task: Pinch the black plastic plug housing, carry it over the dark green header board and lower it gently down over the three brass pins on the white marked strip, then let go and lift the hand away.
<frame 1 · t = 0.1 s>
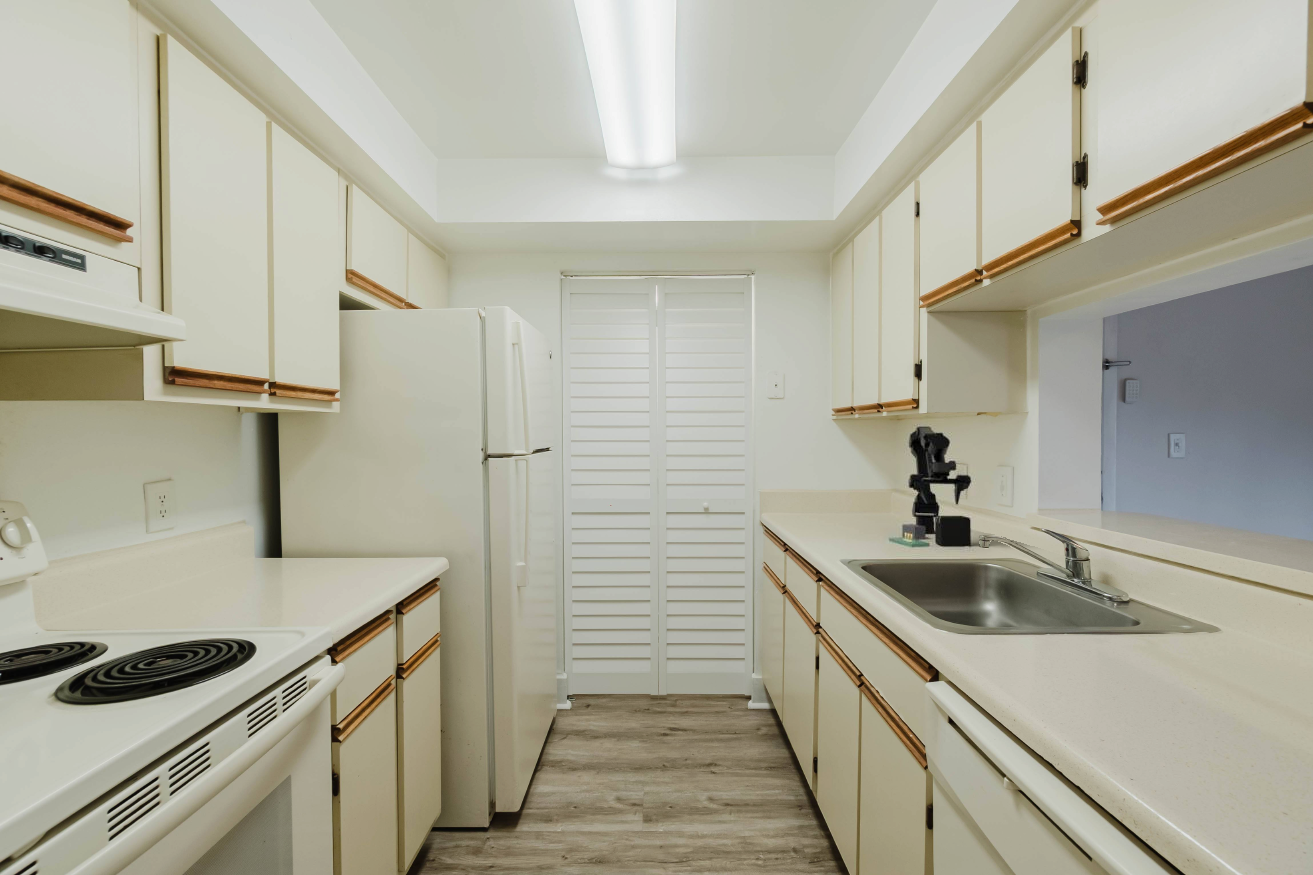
hand: (942, 503, 182), 15 cm above the counter, tool tilted 30°, fingers open, 9 cm apart
electronic device: (952, 546, 185), on the counter
plug housing: (913, 537, 200), on the counter
header board: (908, 543, 190), on the counter
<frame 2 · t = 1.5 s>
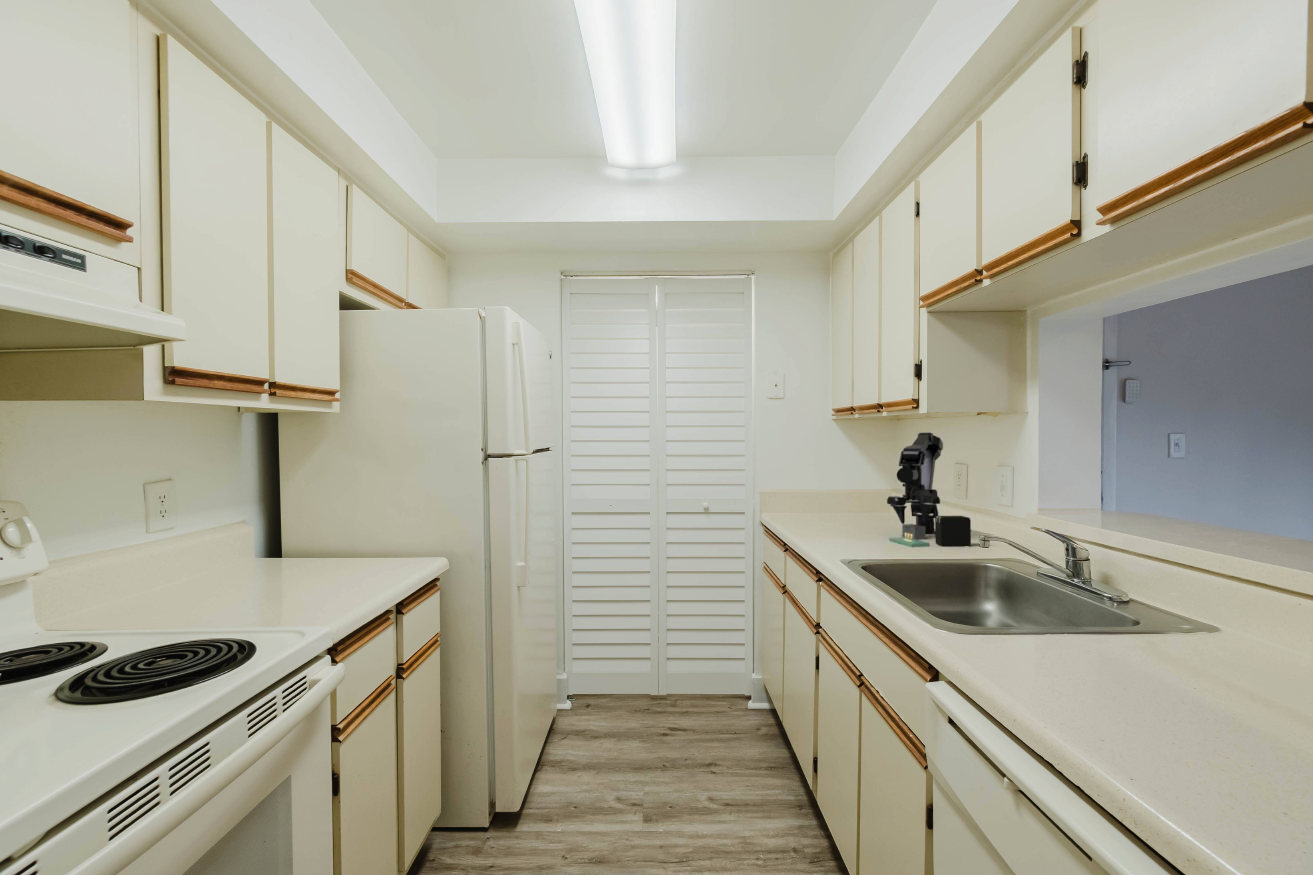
hand: (913, 523, 200), 5 cm above the counter, tool pointing down, fingers open, 9 cm apart
nothing on the counter moved.
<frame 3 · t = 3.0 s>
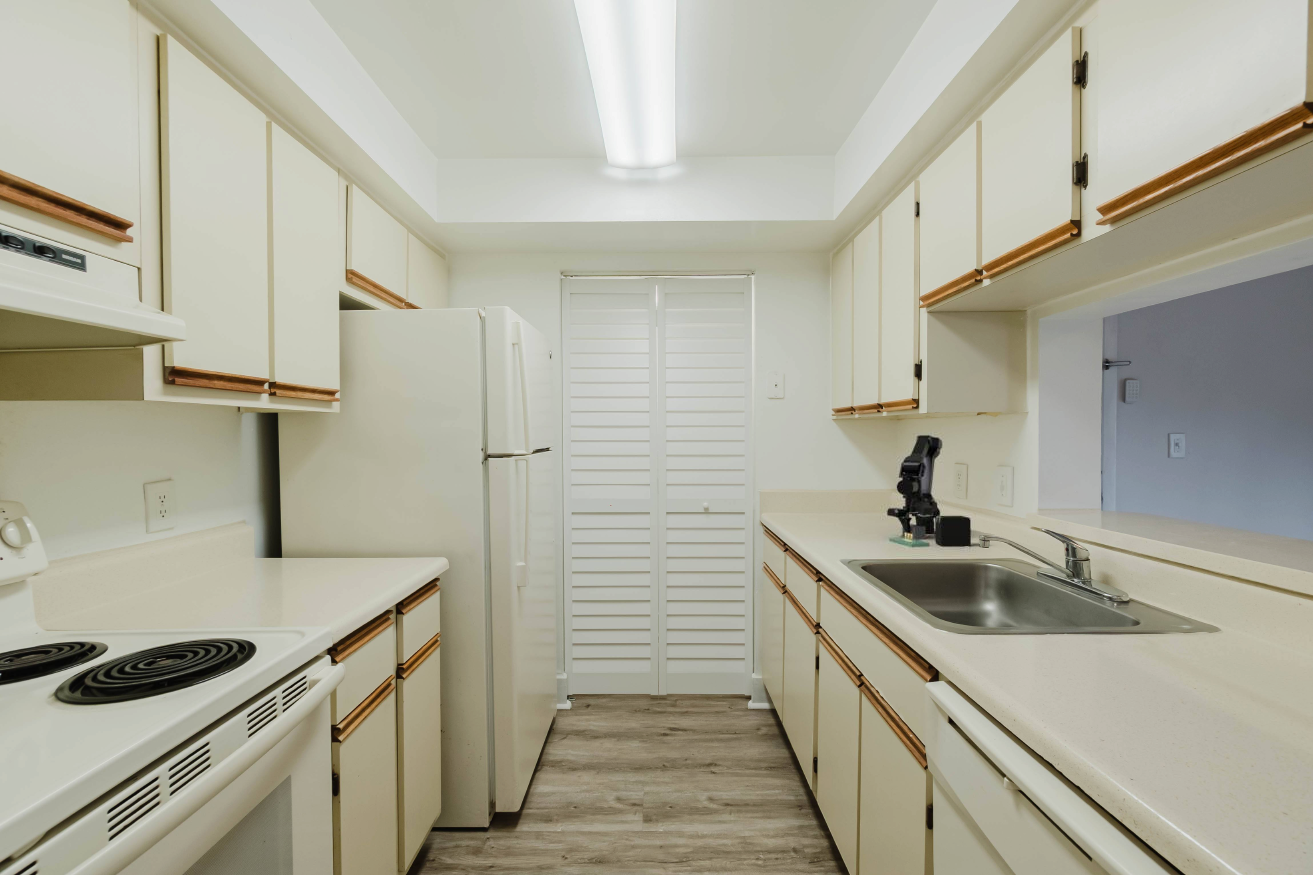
hand: (913, 534, 200), 1 cm above the counter, tool pointing down, fingers closed on plug housing, 4 cm apart
plug housing: (913, 537, 200), on the counter, touching gripper
everything else where it was.
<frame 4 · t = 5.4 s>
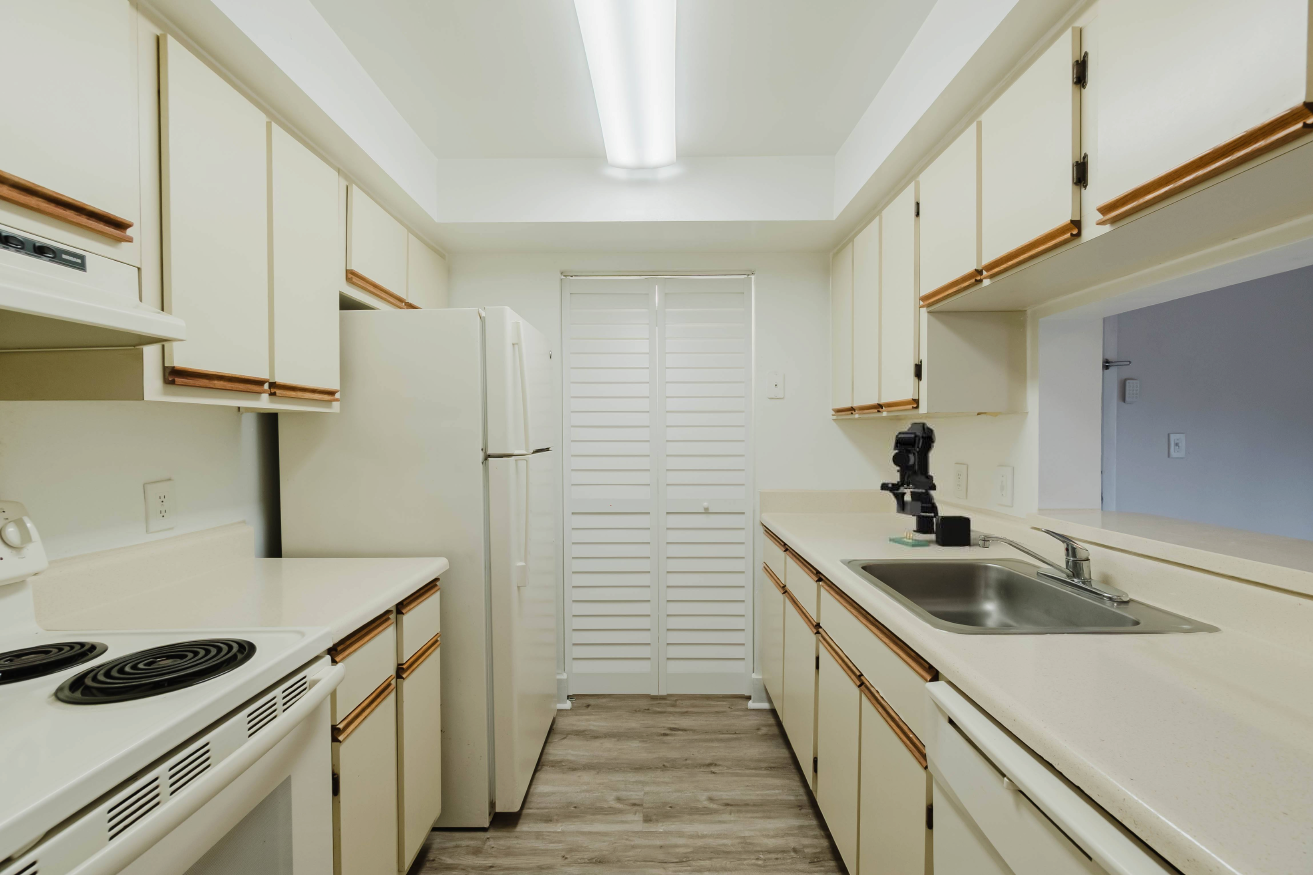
hand: (908, 511, 190), 11 cm above the counter, tool pointing down, fingers closed on plug housing, 4 cm apart
plug housing: (908, 513, 190), point 10 cm above the counter, touching gripper
everything else where it was.
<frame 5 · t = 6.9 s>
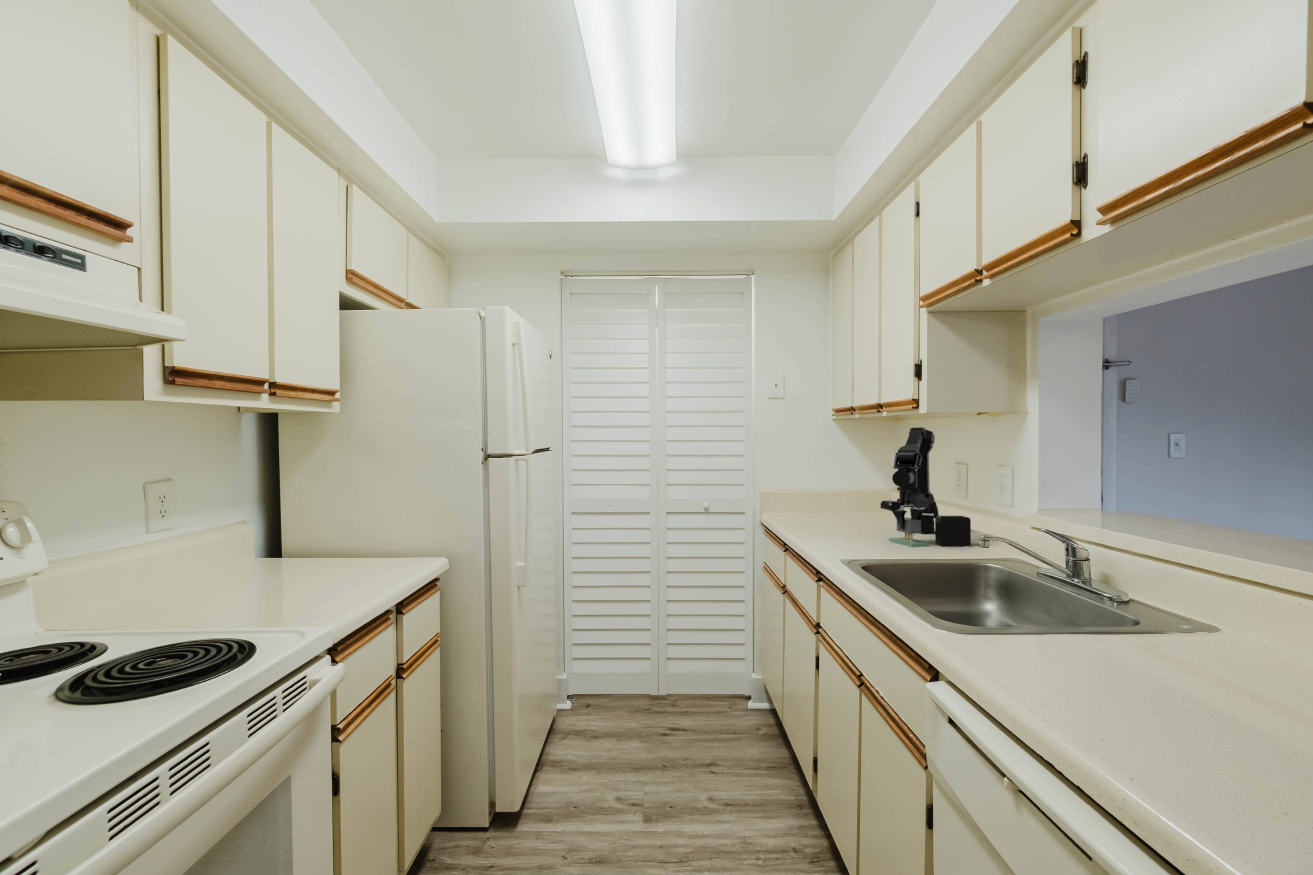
hand: (908, 529, 190), 5 cm above the counter, tool pointing down, fingers closed on plug housing, 4 cm apart
plug housing: (908, 531, 190), point 4 cm above the counter, touching gripper
everything else where it was.
when the fingers open (3 cm above the counter, at t = 8.1 s): plug housing drops 2 cm, resting on header board.
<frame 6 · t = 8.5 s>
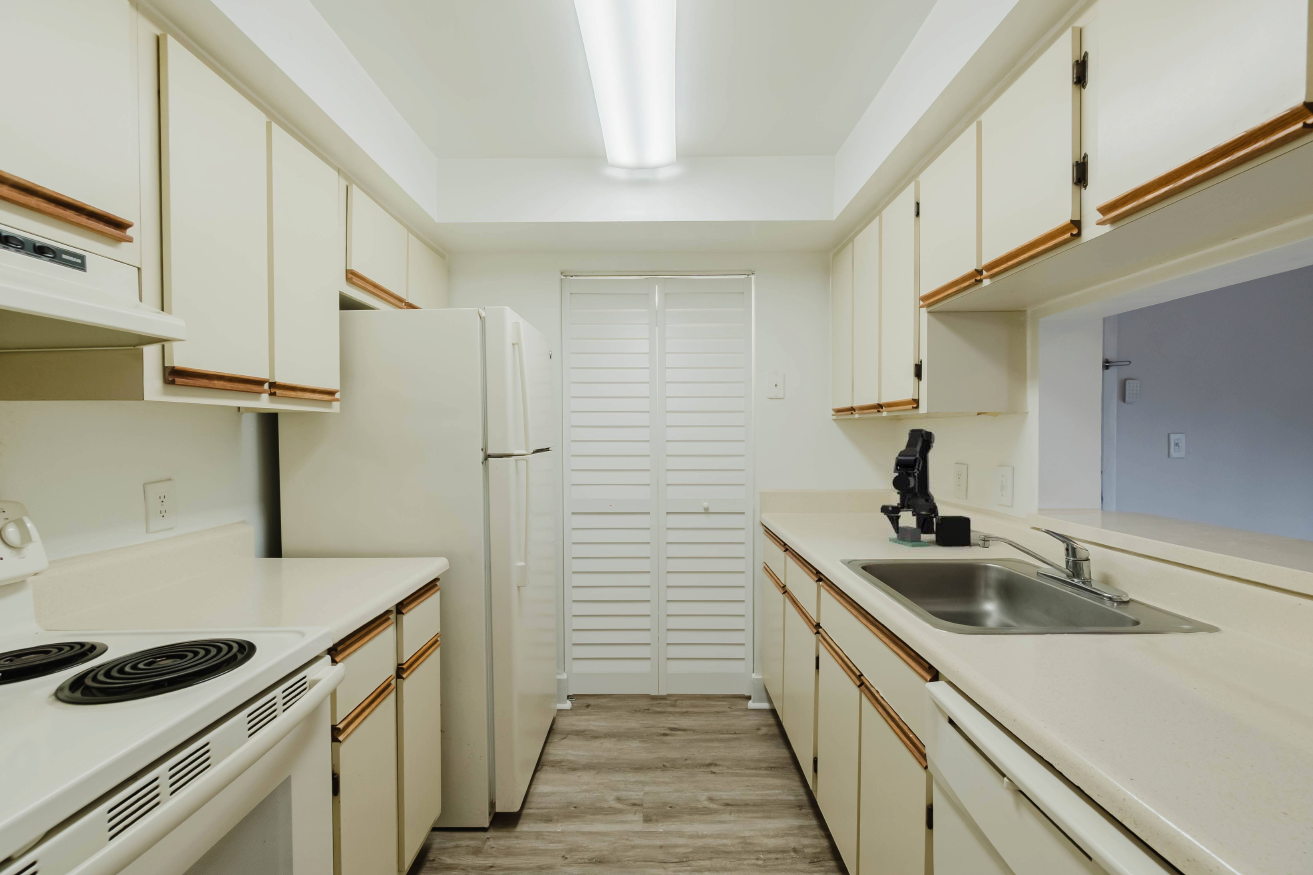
hand: (908, 533, 190), 3 cm above the counter, tool pointing down, fingers open, 9 cm apart
plug housing: (908, 540, 190), point 1 cm above the counter, touching header board
everything else where it was.
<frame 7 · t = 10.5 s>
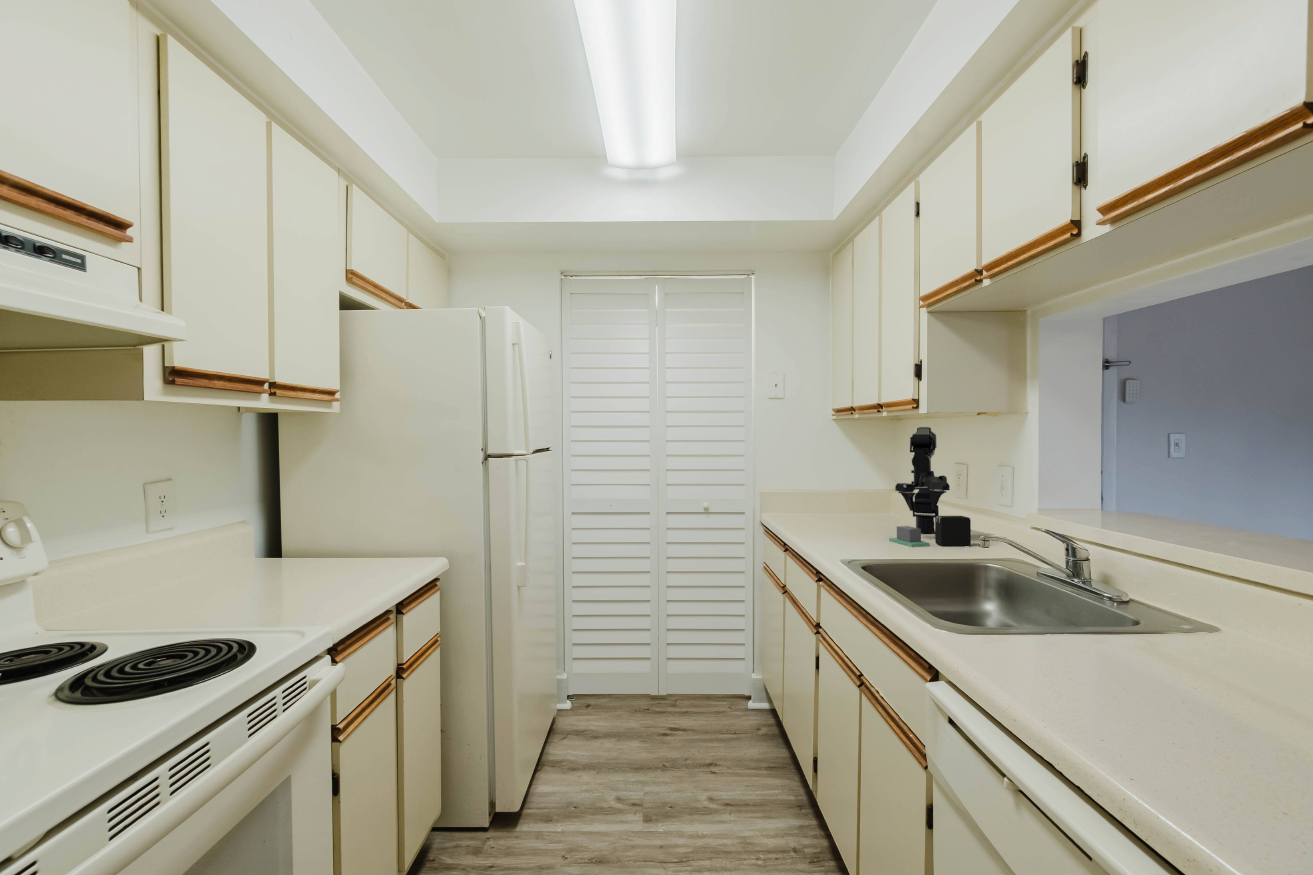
hand: (922, 510, 197), 11 cm above the counter, tool pointing down, fingers open, 9 cm apart
nothing on the counter moved.
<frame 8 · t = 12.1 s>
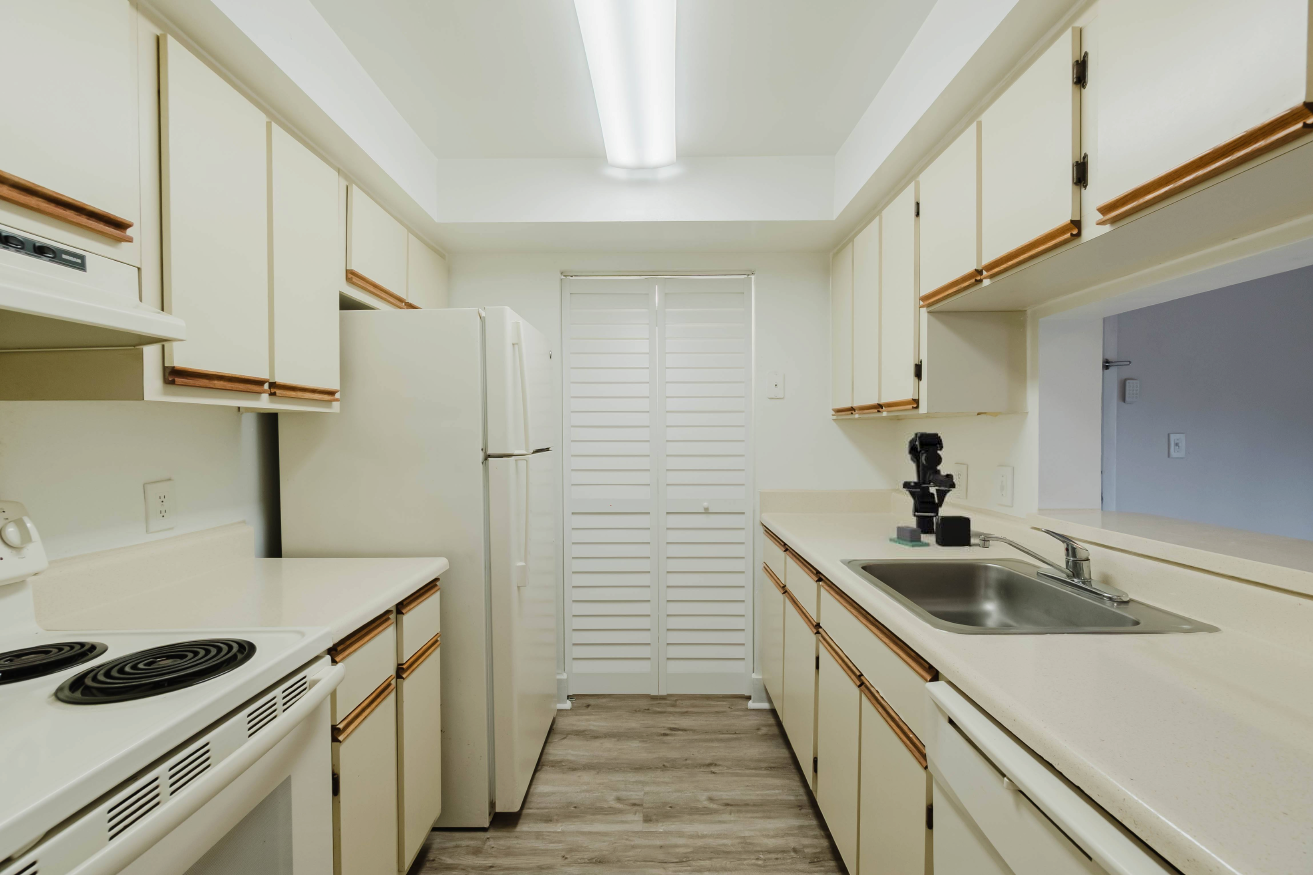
hand: (929, 508, 201), 11 cm above the counter, tool pointing down, fingers open, 9 cm apart
nothing on the counter moved.
at the end: plug housing 0.0 cm off-centre on the header board, point 1.0 cm above the header board's base; plug housing tilted 0°; the gripper is holding nothing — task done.
